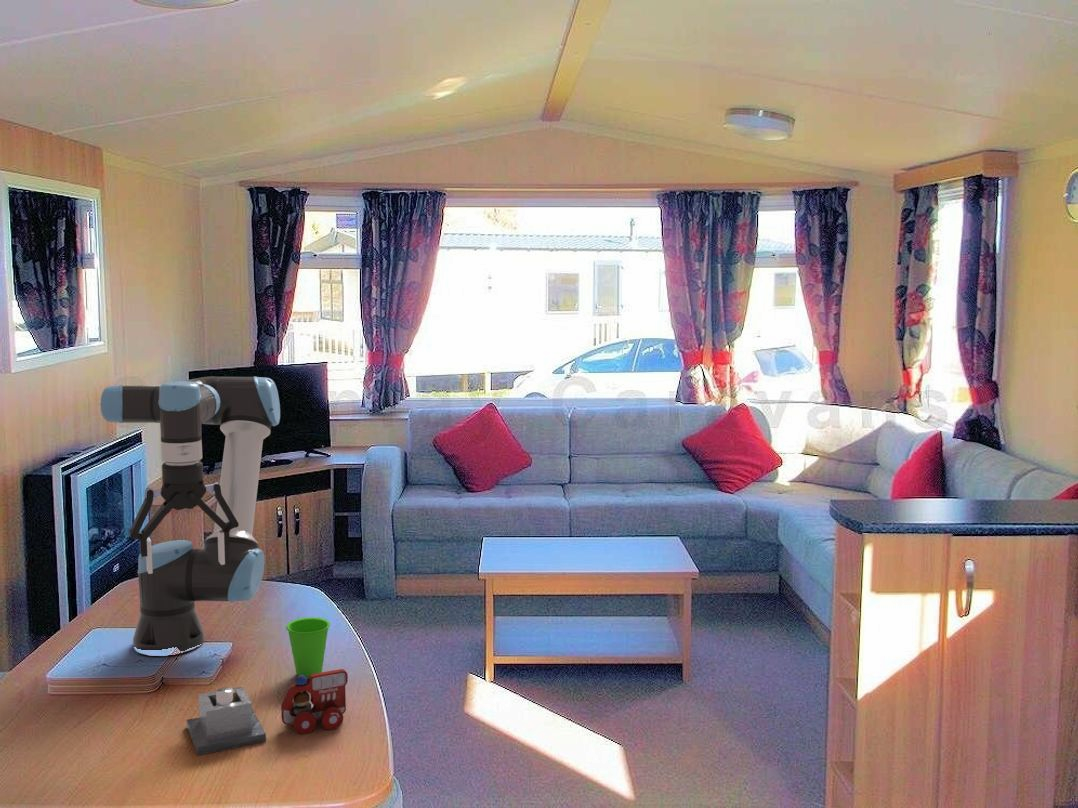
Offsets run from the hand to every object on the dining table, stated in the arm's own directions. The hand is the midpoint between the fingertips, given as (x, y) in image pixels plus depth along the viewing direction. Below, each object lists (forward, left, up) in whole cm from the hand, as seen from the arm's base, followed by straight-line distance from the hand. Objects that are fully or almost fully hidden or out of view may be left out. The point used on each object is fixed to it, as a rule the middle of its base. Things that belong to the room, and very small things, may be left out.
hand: (186, 567), depth 201 cm
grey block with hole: (+20, +3, -25) cm, 32 cm away
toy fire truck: (+23, +19, -27) cm, 40 cm away
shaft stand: (+20, +3, -27) cm, 33 cm away
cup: (0, +24, -27) cm, 36 cm away
